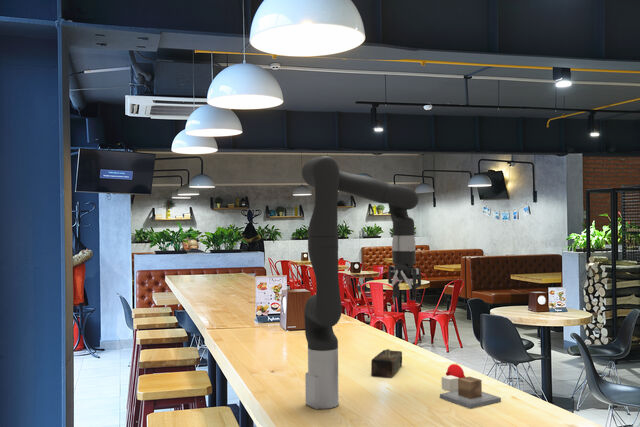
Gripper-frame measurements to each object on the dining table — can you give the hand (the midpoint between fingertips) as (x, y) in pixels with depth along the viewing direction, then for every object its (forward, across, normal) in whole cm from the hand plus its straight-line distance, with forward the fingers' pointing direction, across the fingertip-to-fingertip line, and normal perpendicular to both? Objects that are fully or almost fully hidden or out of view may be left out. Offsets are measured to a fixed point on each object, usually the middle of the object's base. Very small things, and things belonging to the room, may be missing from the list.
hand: (404, 298), depth 198 cm
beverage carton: (+31, -25, +11) cm, 41 cm away
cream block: (+30, +6, +14) cm, 34 cm away
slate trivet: (+30, +18, +11) cm, 37 cm away
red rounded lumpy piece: (+30, +1, +21) cm, 37 cm away
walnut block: (+29, +18, +11) cm, 36 cm away
